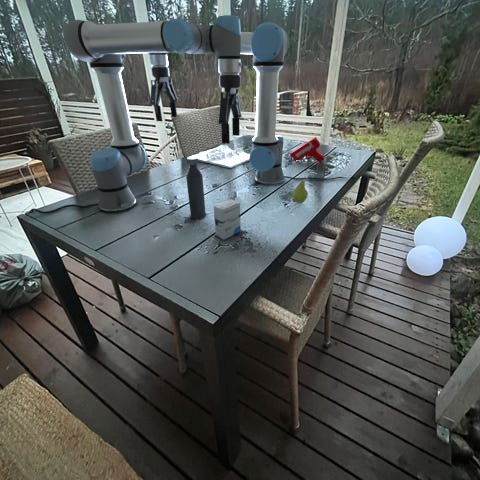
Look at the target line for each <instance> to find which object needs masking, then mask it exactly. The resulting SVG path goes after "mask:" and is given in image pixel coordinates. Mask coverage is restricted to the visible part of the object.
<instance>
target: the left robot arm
mask: <svg viewBox="0 0 480 480" xmlns="http://www.w3.org/2000/svg"><path fill="white" fill-rule="evenodd" d="M241 32H242V31H241V20H240V17H239V16H236V15H230V14H224V15H218V16H217V17H216V22H215V23H214V24H212V25H211V24H205V25H204V24H203V25H200V24H198V23H197V24H196V23H193V22H190V21H187V20H185V19H182V18H171V19H169V20H165V21H164V20H161V21H160V20H159V21H155V22H154V21H141V22H121V23H105V24H104V23H102V22H100V23H99V22H94V21H92V20H84V19H83V20H82V19H73V20H70V21H68V22H67V23H66V24H65V26H64V27H63V31H62V38H63V41H64V45H65V47H66V48H67V51H69V53H70V54H71V55H72V56H73V57H75V58H76V59H78V60H80V61H82V62H84V63H85V62H86V63H88V64H89V66H90V69H91V71H93V72H94V73H95V74H96V77H97V81H98V84H99V85H98V86H99V89H100V92H101V93H100V94H101V97H102V100H103V104H104V108H105V112H106V116H107V120H108V124H109V128H110V131H111V135H112V141H111V142H110V147H106V148H103V149H97V150H96V151H94V152H92V153H91V154H90V155H89V162H90V168H91V170H92V174H93V176H94V179H95V182H96V185H97V188H98V203H97V202H96V203H91V204H86V205H81V204H66V205H62V206H59V207H57V208H54V209H51V210H46V211H43V210H40V209H37V208H31V209H30V210H29V213H33V212H34V210H35V212H37V213H39V214H44V215H46V214H47V215H48V214H52V213H56V212H58V211H60V210H63V209H66V208H70V207H71V208H72V207H75V208H79V209H80V208H81V209H87V208H92V207H98V208H99V210H100V211H101V212H103V213H107V214H115V213H116V214H117V213H123V212H126V211H128V210H132V209H133V208H134V207H135V206H136V205H137V198H136V197H135V195H134V194H133V193H132V191H131V189H130V187H129V183H128V180H127V177H129V176H131V175H133V174H135V173H137V172H139V171H141V170H142V169H144V167H145V166H146V164H147V162H148V154H147V152H146V149H145V148H144V147H143V146H142V145H141V144H140V140H139V139H137V138H136V137H135V135H134V129H133V125H132V121H131V116H130V111H129V107H128V102H127V97H126V92H125V87H124V84H123V83H124V82H123V78H122V71H123V70H124V63H123V60H125V56H126V55H127V54H128V55H129V54H149V53H167V54H168V53H171V54H173V53H186V54H190V55H204V54H206V55H207V54H217V66H218V73H219V74H220V75H219V76H218V84H219V85H218V86H219V88H220V89H224V90H223V91H221V92H220V105H219V115H218V125H220V128H221V144H225V145H227V144H231V142H230V141H231V139H230V123H229V121H230V117H231V115H232V118H231V120H232V121H231V122H232V123H231V124H232V125H231V126H232V127H231V128H232V136H235V137H239V136H240V119H242V117H243V115H242V110H241V104H240V103H241V102H240V94H239V88H241V86H242V76H241V69H242V67H243V62H241V61H242V60H241V56H242V54H241ZM31 211H32V212H31Z"/></svg>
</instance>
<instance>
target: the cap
mask: <svg viewBox="0 0 480 480" xmlns="http://www.w3.org/2000/svg"><path fill="white" fill-rule="evenodd" d="M190 156H191V157H190ZM190 156H188V157H187V158H186V160H187V161H186V162H187V165H189V166H190V165H196V164H197V165H198V164H199V161H198V157H196V156H193V155H190Z"/></svg>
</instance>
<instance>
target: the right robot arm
mask: <svg viewBox="0 0 480 480" xmlns="http://www.w3.org/2000/svg"><path fill="white" fill-rule="evenodd" d="M153 22H156V21H153ZM289 41H290V40H289V35H288V33H287V31H286V30H285V29H284V28H283V27H281V26H280V25H278V24H277V23H276V22H271V21H268V22H267V21H266V22H262V23H260V24H259V25H258V26H257V27H256V28H255V29H254V30H253V31H251V32H250V31H246V32H245V31H241V55H253V65H252V66H253V68H254V69H255V71H256V103H255V104H256V107H255V108H256V110H255V135H254V136H253V137H252V139H251V151H250V153H249V154H250V156H249V161H248V162H249V163H250V166H251V167H252V168H253V169H254V170H256V172H255V173H256V174H255V178H254V181H255V183H258V184H259V185H262V186H263V185H264V186H279V185H281V184H283V183H284V181H285V179H292V180H298V181H299V180H305V179H306V178H307V177H292V176H286V175H284V172H283V171H284V170H283V167H282V165H283V154H284V153H283V152H284V137H283V135H280V134H279V135H278V134H276V129H277V128H276V126H277V111H278V110H277V109H278V95H279V93H278V91H279V76H280V71H281V70H282V69H283V67H284V61H285V60H284V59H285V55H286V54H287V52H288V49H289V47H290V46H289V44H290V42H289ZM148 55H149V63H150V66H151V68H150V69H151V76H152V77H153V78H154V79H151V80H150V85H151V86H150V98H149V104H150V105H151V106H153V109H154V114H155V115H154V116H155V120H156V122H163V116H162V109H161V105H160V102H161V98H162V94H163V93H165V94H166V96H167V97H168V99H169V101H170V102H169V106H170V114H171V117H172V118H177V117H178V114H177V105H176V104H177V103H178V101H179V100H178V99H179V98H178V95H177V92H176V90H175V87H174V84H173V79H172V78H169V77H170V69H169V67H168V66H169V60H168V52H167V53H148ZM344 178H346V177H342V176H336V177H328V178H325V177H324V178H323V177H311V176H310V177H309V178H307V179H306V180H319V181H331V180H336V179H344ZM350 178H351V179H355V177H354V176H352V177H350Z"/></svg>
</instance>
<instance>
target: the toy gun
mask: <svg viewBox="0 0 480 480" xmlns="http://www.w3.org/2000/svg"><path fill="white" fill-rule="evenodd" d="M320 147H321V142H320V141H319V140H318V138H317V136H314V137H313V138H311V139H310V140H308V141H306V142H305V143H303V144H302V145H300V146H299V147H297V148H296V149H294V150H293V151H292V152H290V153H289V156H290V158H292V160H293V162H295V163H296V162H297V161H296V160H298V161H299V160H301V159H303V158H304V157H305V159H307V160H309V159H310V158H313V159H315V160H316V162H317V164H320V163H323V162H324V159H325V157H326V156H325V155H324V154H323V153H322V152H320V151H319V149H320ZM318 148H319V149H318ZM322 160H323V161H322ZM318 161H319V162H320V163H318ZM321 161H322V162H321Z"/></svg>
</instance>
